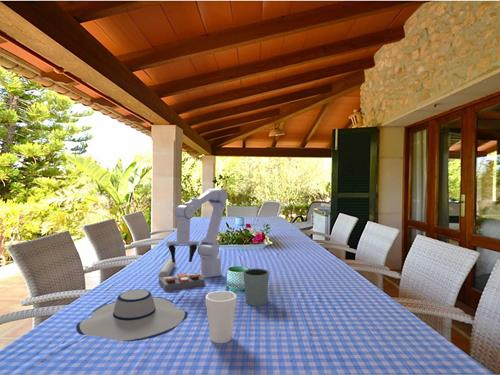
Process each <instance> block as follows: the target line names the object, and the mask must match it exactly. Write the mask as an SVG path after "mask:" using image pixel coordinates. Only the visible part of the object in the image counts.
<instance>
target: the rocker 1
mask: <svg viewBox="0 0 500 375" xmlns="http://www.w3.org/2000/svg"><path fill="white" fill-rule="evenodd" d="M186 274H187V273H186V272H183V273H177V275H176V276H178V277H179V279H180V281H181V282H186V281H189V279H188V277H187V275H186Z"/></svg>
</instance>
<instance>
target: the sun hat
mask: <svg viewBox="0 0 500 375" xmlns="http://www.w3.org/2000/svg"><path fill="white" fill-rule="evenodd" d="M172 303H173V304H172ZM187 318H188V311H186V310H183V309H181V308H178V307H176V306H175V305H174V301H172V300H170V299H168V298H164V297H161V296H159V297H158V296H153V295H152V293H151V292H150V291H149V290H145V289H129V290H125V291H124V292H123V291H122V292H121V293H120V294H118V296H117V298H116V300H115V301H114V302H110V303H109V302H108V303H105V304H103V305H101V306H99V307H98V308H96V309H94V310H93V311H92V315H91V316H90V317H88V318H86V319H84V320H82V321H80V322H78V323H77V324H76V331H77V333H78V334H79V335H82V336H91V337H100V338H105V339H110V340H116V341H121V342H137V341H144V340H148V339H152V338H155V337H159V336H161V335H164V334H166V333H170V332H171V331H174V330H175V329H176V328H177V327H178V326H179V325H180V324H181V323H183V322H184V321H185V320H186V319H187Z"/></svg>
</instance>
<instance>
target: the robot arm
mask: <svg viewBox="0 0 500 375" xmlns="http://www.w3.org/2000/svg"><path fill="white" fill-rule="evenodd" d="M227 200H228V192H227V190H226V188H211V187H208V188H207V189H205V191H204V193H201V194H200V195H199V196H198V197H191V198H190V200H188V201H187V202H185V203H184V204H183V205H182V204H179V205H178V206H177V207H175V211H174V215H175V217H176V218H175V219H176V224H177V226H176V240H173V241H166V242H165V246H166V247H168V250H169V253H170V256H171V258H172V262H173V263H175V260H176V247H189V257H188V262H189V263H192V261H193V258H194V255H195V253H196V250H197V254H198V256H199V257H200V258H201V260H200V268H201V269H200V272H198V274H200V275H201V277H202V278H203V279H205V278H213V277H219V276H220V277H221V276H222V272H221V271H222V263H221V262H222V261H221V258H220V257H219V256H218V255H219V254H220V245H221V244H220V242H219V241H218V239H217V237H218V234H219V229H220V227H221V226H220V225H221V221H222V219H223V218H222V217H223V214H224V210H225V206H226V204H227ZM206 202H209V205H211V206H212V208H213V209H212V212H211V217H210V220H209V224H208V228H207V231H206V235H205V237H204V238H203V239H201V240H200V242H199V240H190V235H191V234H190V233H191V232H190V231H191V218H192V217H193V216H194V213H195V212H197V211H199V209H201V208H202V205H203V204H204V203H206Z"/></svg>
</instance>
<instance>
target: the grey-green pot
mask: <svg viewBox="0 0 500 375" xmlns="http://www.w3.org/2000/svg"><path fill="white" fill-rule="evenodd" d="M269 278H270V271H269V270H267V269H263V268H248V269H246V270H244V271H243V283H244V293H245V296H244V298H245V303H246V305H249V306H253V307H261V306H264V305H267V303H268V297H269V296H268V290H269Z"/></svg>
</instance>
